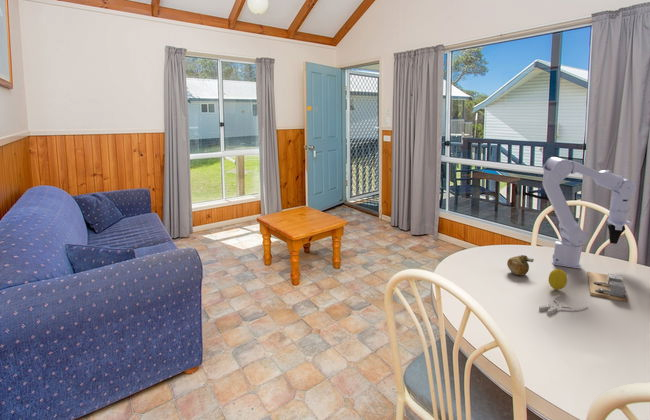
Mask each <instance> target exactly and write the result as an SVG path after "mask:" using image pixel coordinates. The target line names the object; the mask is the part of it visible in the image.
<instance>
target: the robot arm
mask: <svg viewBox="0 0 650 420" xmlns="http://www.w3.org/2000/svg"><path fill="white" fill-rule="evenodd" d="M542 169H543V174H542V175H543V177H542V187H543V190H544V192H545V194H546V196H547V198H548V200H549V203H550V205H551V208H552V209H553V211H554V213H555V216H556V217H557V219H558V222H559V224H558V227H559V235H560V236H561V241H559V240H557V241H555V244H554V250H553V251H554V252H553V254H552V258H551V259H552V264H553V266H559V267H566V268H567V267H568V268H571V269H579V270H580V269H581V268H582V267H581V265H582V264H581V257H582V250H583V245H584V244H585V243H586V242H587V239H588V234H587V233H586V231H584V230H583V229H582V228H581V226H580V224H579V223H578V222H577V221H576V220H575V217H574V215H573V213H572V211H571V208H570V206H569V204H568V202H567V200H566V197H565V196H564V193H563V191H562V188H561V186H560V185H561V183H562V182H563V181H564V180H565V179H566V178H567V177H568V176H569V175H570V174H572V175H574V174H576V173H578V174H579V175H583V176H585V177H587V178H588V177H589V178H591V179H592V180H593V181H594V184H596V185H598V186H600V187H603V188H606V189H608V190H611V191H612V195H611V200H610V201H611V202H610V207H609V214H608V218H607V220H606V221H607V224H606V226H607V228H608V236H609V237H608V238H609V243H610V244H612V245H613V244H615V245H616V244H618V242H619V239H620V237H621V236H622V234H623V232H625V230H626V227H625V225H630V224H631V221H629V220H627V218H628V213H629V209H630V204H631V199H632V196H633V194H634V193H635V192H636V190H637V189H638V188H637V187H636V184H635V182H634V181H632V180H630V179H627V178H624V176H623V175H621V174H620V175H617V174H615V173H612V172H613V171H612V170H609V169H606V170H605V169H603V170H602V169H601V170H599V171H598V170H596V169H594V168H591V167H589V166H587V165H585V164H582V163H580V162H577V161H575V160H574V161H573V160H570V159H564V158H560V157H558V156H551V157H549V158H548V159H547V160H546V162H545V163H544V165H543V166H542Z"/></svg>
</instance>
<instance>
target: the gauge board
mask: <svg viewBox="0 0 650 420" xmlns="http://www.w3.org/2000/svg"><path fill="white" fill-rule="evenodd" d="M586 274H587V279H588V280H587V281H588V290H589V295H590V296H593V297H598V298H604V299H609V300H610V299H611V300H615V301H620V302H626V303H627V302H628V293H627V291H626V289H625V292H624V297H618V296H613V295H609V293H608V292H602V291H598V289H605V290H608V288H609V287H607V285H604V284H598V283H597V281H600V282H607V276H608V274H604V273H598V272H594V271H593V272H592V271H587V273H586ZM619 275H620V276H622V275H621V274H619ZM623 281H624V280H623ZM623 281H622V283H624V282H623Z"/></svg>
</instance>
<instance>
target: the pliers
mask: <svg viewBox="0 0 650 420" xmlns="http://www.w3.org/2000/svg"><path fill="white" fill-rule="evenodd" d="M560 297H561V295H560V294H558V295H553V296H551V297H550V298H549V300H548V305H547V304H544V305H541V306H539V307H538V312H539V311H540V312H543V311H547V312H546V315H548V316H551V315H552V314H555V313H556V312H569V313H571V312H572V313H573V312H580V311H581V312H582V311H585V310H587V309H588V307H589V306H581V307H576V308H575V307H571V306H564V305H563V306H562V305H561V307H559V308H558V306H559V301H557V300H556V299H558V298H560ZM555 303H556V305H557V306H556V305H555Z"/></svg>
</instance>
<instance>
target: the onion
mask: <svg viewBox="0 0 650 420" xmlns="http://www.w3.org/2000/svg"><path fill="white" fill-rule="evenodd" d="M534 261H535V259H534V258H531V257H528V256H527V255H523V254H521V255H517V256H513V257H510V258H508V259H507V263H506V265H507V268H508V269H509V271H511V273H512V274H513V275H516V276H525V275H526V274H528V272H529V271H530V265H529V263H533V262H534ZM528 262H529V263H528Z"/></svg>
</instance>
